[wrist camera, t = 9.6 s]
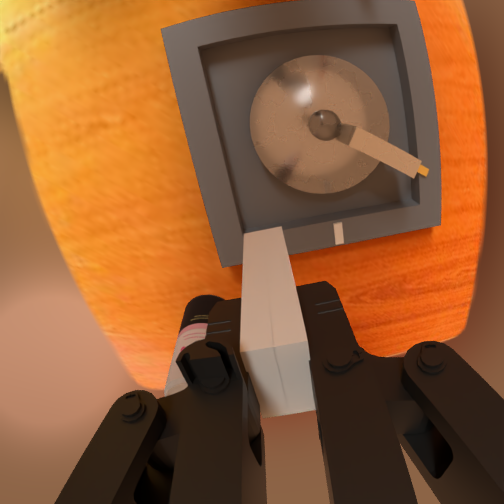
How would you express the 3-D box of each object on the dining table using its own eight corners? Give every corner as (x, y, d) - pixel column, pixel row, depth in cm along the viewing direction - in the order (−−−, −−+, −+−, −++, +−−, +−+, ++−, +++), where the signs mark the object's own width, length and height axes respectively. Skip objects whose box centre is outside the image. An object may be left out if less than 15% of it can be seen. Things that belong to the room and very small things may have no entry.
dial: (230, 161, 32) (225, 176, 26) (278, 37, 26) (285, 20, 20) (362, 211, 34) (385, 236, 28) (410, 100, 29) (444, 103, 22)
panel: (168, 35, 27) (160, 28, 24) (402, 7, 25) (416, 0, 21) (224, 254, 38) (221, 269, 35) (428, 215, 36) (441, 226, 33)
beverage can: (230, 335, 44) (224, 425, 30) (183, 327, 43) (163, 415, 30) (238, 297, 41) (234, 388, 27) (187, 288, 40) (162, 377, 27)
